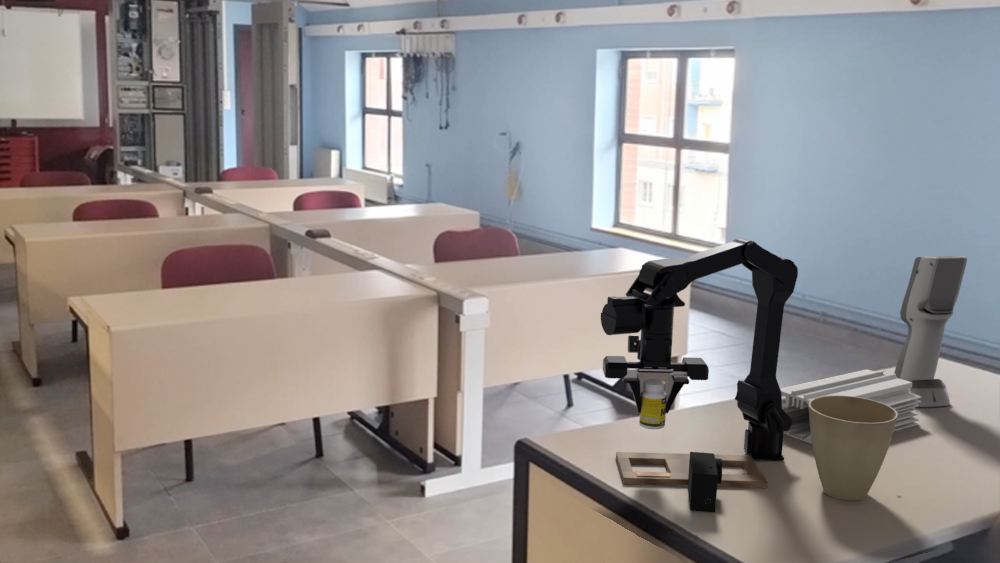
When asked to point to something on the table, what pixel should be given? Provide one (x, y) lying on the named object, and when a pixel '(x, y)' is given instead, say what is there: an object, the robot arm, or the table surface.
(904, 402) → the aluminum extrusion profile
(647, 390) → the supplement bottle
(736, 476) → the jack panel
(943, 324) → the thermal camera
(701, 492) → the digital camera
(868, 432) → the plant pot
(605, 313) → the robot arm
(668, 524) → the table surface
